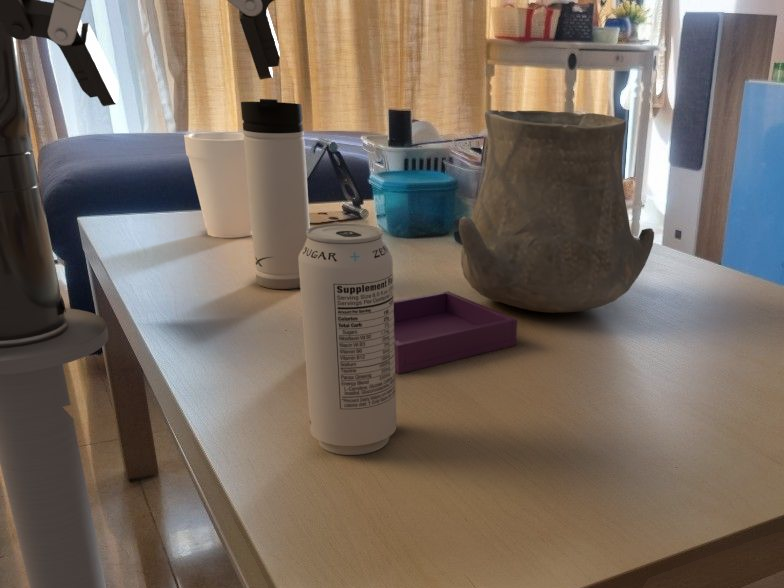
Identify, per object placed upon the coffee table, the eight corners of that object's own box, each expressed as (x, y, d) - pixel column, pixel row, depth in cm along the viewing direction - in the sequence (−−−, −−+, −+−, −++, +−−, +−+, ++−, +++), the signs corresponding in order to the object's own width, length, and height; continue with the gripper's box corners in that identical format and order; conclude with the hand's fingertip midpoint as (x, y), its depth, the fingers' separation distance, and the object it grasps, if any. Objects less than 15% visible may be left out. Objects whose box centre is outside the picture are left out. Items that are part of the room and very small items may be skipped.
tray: (398, 374, 72) (398, 345, 71) (334, 338, 79) (333, 311, 78) (516, 345, 80) (517, 319, 79) (448, 315, 88) (448, 291, 86)
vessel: (604, 272, 107) (617, 107, 99) (669, 327, 87) (692, 127, 79) (434, 275, 102) (434, 101, 94) (463, 334, 82) (466, 121, 74)
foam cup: (279, 235, 117) (271, 138, 112) (216, 243, 111) (205, 141, 106) (244, 223, 123) (236, 130, 118) (183, 230, 117) (171, 133, 111)
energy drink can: (367, 414, 64) (359, 218, 58) (413, 442, 60) (410, 234, 54) (295, 435, 60) (279, 227, 54) (339, 467, 56) (326, 246, 50)
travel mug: (253, 291, 92) (235, 98, 84) (259, 275, 98) (243, 93, 90) (312, 290, 93) (300, 100, 85) (314, 274, 99) (303, 96, 91)
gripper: (217, -320, 37) (310, 30, 50) (-124, -282, 35) (64, 70, 48) (220, -269, 33) (321, 100, 46) (-170, -224, 31) (51, 146, 44)
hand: (189, 84), depth 47 cm, fingers open, 8 cm apart
